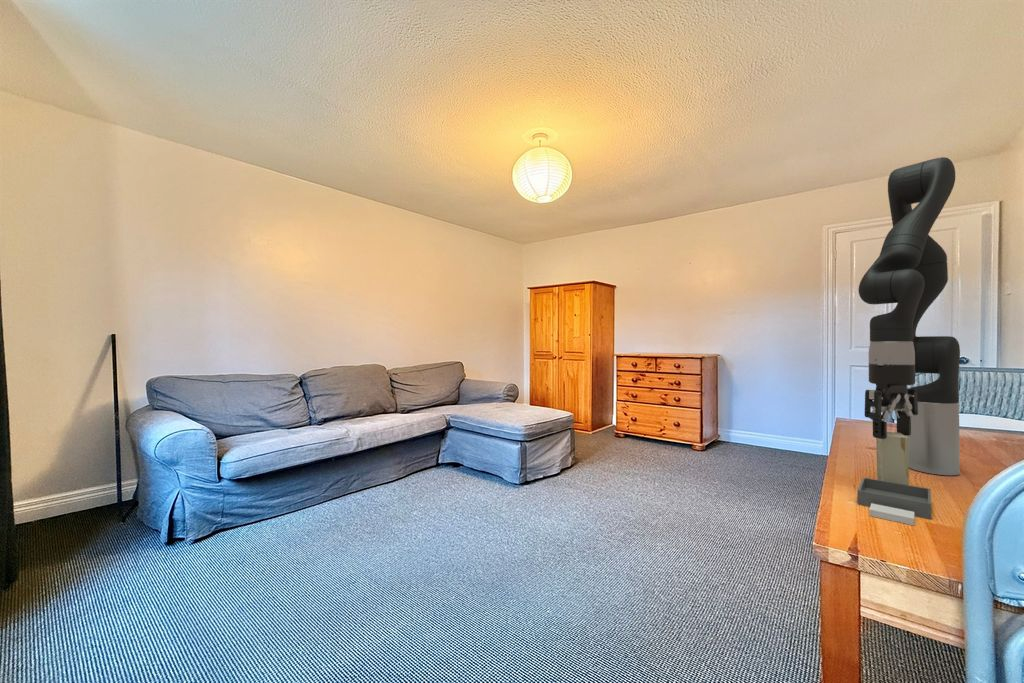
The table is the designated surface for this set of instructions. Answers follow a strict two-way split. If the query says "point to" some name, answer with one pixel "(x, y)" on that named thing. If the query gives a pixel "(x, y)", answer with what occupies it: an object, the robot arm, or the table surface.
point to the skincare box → (893, 458)
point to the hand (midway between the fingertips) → (891, 436)
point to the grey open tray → (894, 500)
